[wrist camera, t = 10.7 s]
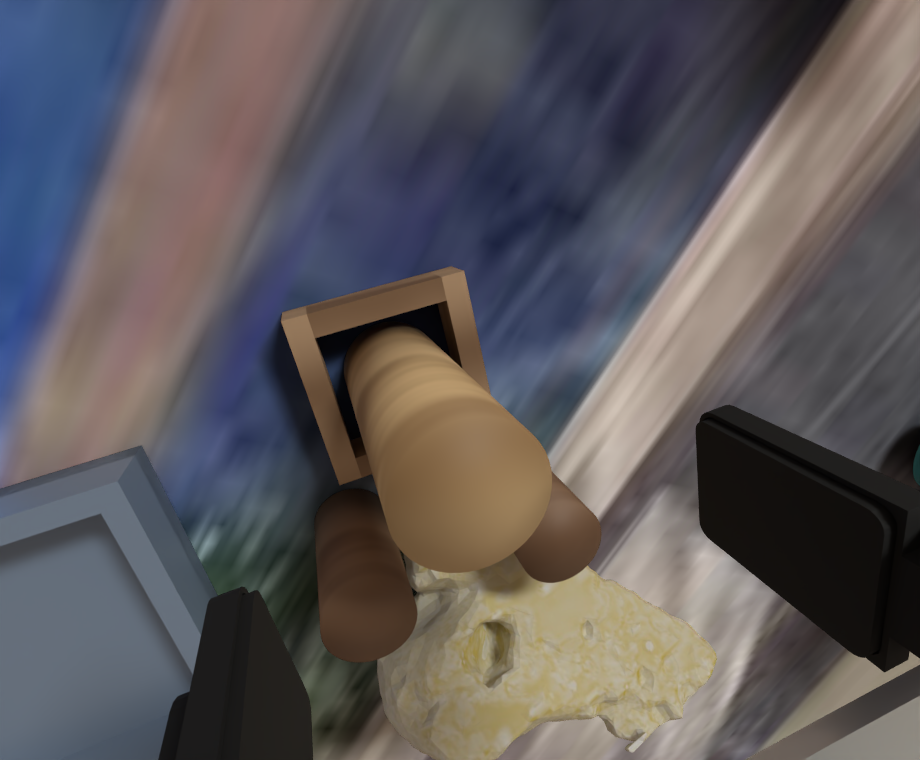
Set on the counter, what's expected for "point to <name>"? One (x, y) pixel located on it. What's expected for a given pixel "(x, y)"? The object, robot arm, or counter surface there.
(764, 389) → the counter surface
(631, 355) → the counter surface
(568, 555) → the peg
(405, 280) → the dowel socket
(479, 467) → the dowel
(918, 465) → the beverage bottle
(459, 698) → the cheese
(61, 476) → the tray
